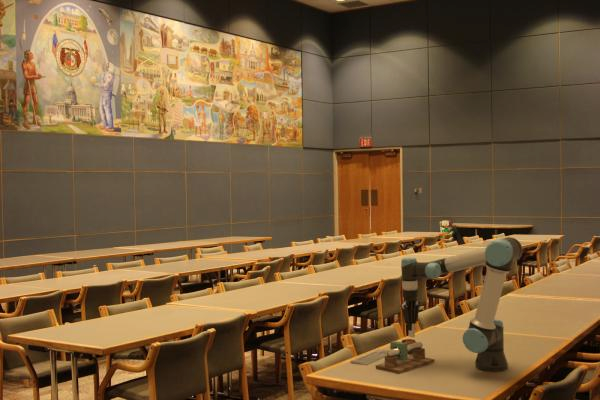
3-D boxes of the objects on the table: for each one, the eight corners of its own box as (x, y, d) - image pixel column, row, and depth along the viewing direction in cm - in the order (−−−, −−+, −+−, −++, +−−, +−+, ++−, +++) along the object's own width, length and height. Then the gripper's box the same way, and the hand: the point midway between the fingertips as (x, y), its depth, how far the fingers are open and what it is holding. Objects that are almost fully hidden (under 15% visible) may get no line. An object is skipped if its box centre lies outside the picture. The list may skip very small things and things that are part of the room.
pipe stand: (411, 357, 352) (411, 345, 352) (434, 362, 342) (433, 349, 342) (375, 368, 333) (375, 355, 333) (398, 373, 323) (398, 360, 323)
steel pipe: (417, 347, 347) (417, 340, 347) (422, 348, 345) (422, 341, 345) (386, 356, 331) (386, 349, 331) (392, 357, 328) (391, 350, 328)
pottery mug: (397, 355, 361) (396, 339, 365) (406, 359, 367) (405, 344, 371) (418, 351, 355) (417, 336, 359) (426, 356, 361) (425, 340, 365)
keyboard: (368, 366, 339) (368, 362, 339) (350, 364, 345) (350, 360, 345) (395, 354, 363) (395, 350, 363) (378, 352, 369) (378, 348, 369)
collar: (394, 357, 338) (394, 340, 338) (407, 359, 333) (407, 343, 332) (390, 358, 336) (390, 342, 336) (403, 361, 331) (403, 344, 330)
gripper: (412, 287, 348) (413, 333, 348) (395, 290, 339) (397, 338, 339) (424, 288, 342) (426, 335, 342) (407, 291, 333) (409, 340, 333)
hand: (411, 336), depth 341 cm, fingers closed
